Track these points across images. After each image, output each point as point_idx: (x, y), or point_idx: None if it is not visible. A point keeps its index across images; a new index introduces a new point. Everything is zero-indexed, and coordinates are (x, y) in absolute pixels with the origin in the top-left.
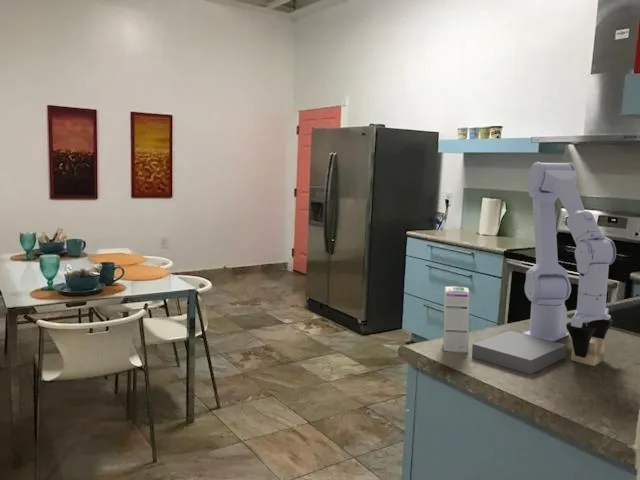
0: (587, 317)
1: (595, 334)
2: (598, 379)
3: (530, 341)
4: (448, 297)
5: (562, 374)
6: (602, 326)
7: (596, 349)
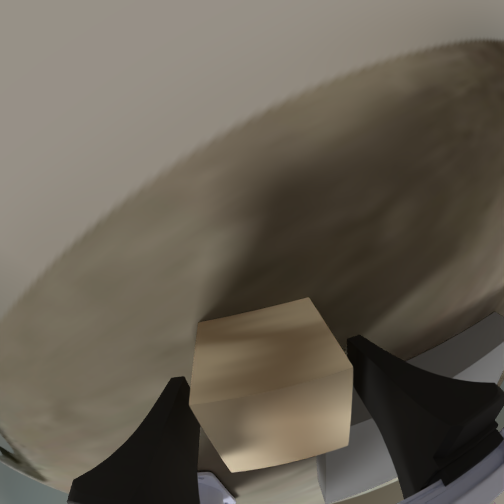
0: (501, 492)
1: (182, 456)
2: (433, 184)
3: (381, 457)
4: (493, 502)
5: (464, 279)
6: (160, 490)
7: (318, 348)
